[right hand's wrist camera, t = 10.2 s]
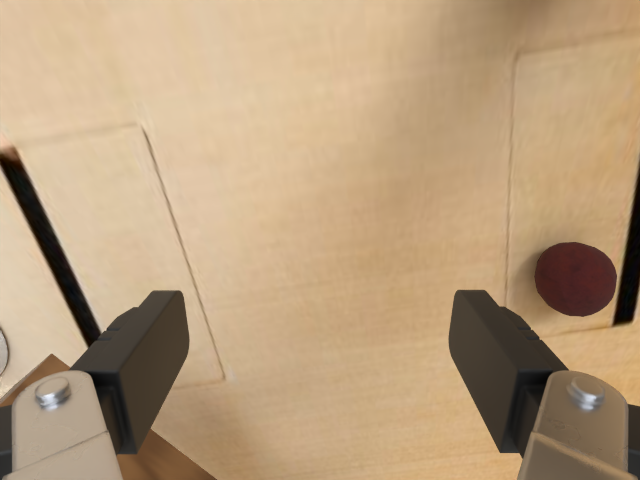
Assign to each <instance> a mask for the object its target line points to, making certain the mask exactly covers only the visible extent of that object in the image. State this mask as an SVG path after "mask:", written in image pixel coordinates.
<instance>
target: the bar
mask: <svg viewBox="0 0 640 480" xmlns="http://www.w3.org/2000/svg"><path fill="white" fill-rule="evenodd" d="M69 369H70V367H69V366H67V365H66V364H65V363H64V362H62V361H61V360H60V359H58V358H57V357H56V356H54V355H53V354H50V355H49V356H48V357H47V358H46V359H45V360H44V361H42V362H41V363H40V364H39V365H38V366H37V367H35V368H34V369H33V370H32V371H31V372H30V373H28V374H27V375H26V376H25V377H24V378H23V379H21V380H20V381H19V382H18V383H17V384H16V385H15V386H13V387H12V388H11V389H10V390H9V391H8V392H7V393H6V394H5V395H4V396H3V397H2V398H1V399H0V407H3V406H8V405H12V404H13V402H14V400H15V398H16V397H17V396H18V395H19V394H20V393H21V392H22V391H23V390H24V389H25V388H27V387H28V386H29V385H31V384H32V383H34V382H36V381H38V380H40V379H42V378H44V377H46V376H49V375H52V374H55V373H59V372H63V371H68V370H69ZM116 457H117V461H118V464H119V467H120V471H121V474H122V477H123V480H217V479H215V478H214V477H213V476H211V475H210V474H209V473H208V472H206V471H205V470H204V469H202V468H201V467H200V466H198V465H197V464H196V463H194V462H193V461H192V460H190V459H189V458H188V457H187V456H185V455H184V454H183V453H181V452H180V451H179V450H177V449H176V448H175V447H173V446H172V445H171V444H170V443H168V442H167V441H166V440H164V439H163V438H162V437H160V436H159V435H158V434H156V433H155V432H154V431H153V430H151V429H150V430H149V432H148V434H147V436H146V438H145V440H144V442H143V444H142V446H141V448H140V449H139V451H138V453H137V454H117V456H116Z"/></svg>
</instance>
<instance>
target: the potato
mask: <svg viewBox="0 0 640 480" xmlns="http://www.w3.org/2000/svg"><path fill="white" fill-rule="evenodd" d="M534 277H535V282H536V288H537V291H538V293H539V294H540V295H541V297H542V298H543V299H544V300H545V302H546V303H547V304H548V305H549V306H550V307H552V308H553V309H555V310H557V311H559V312H561V313H563V314H565V315H569V316H581V317H584V316H588V315H592V314H594V313H596V312H598V311H600V310H601V309H603V308H604V307H605V306H607V305H608V303H609V302H610V301H611V300H612V298H613V296H614V293H615V288H616V280H617V274H616V270H615V267H614V265H613V263H612V261H611V260H610V259H609V258H608V257H607V255H606V254H605V253H603V252H602V251H600V250H598V249H597V248H595V247H592V246H588V245H585V244H582V243H577V242H569V243H559V244H556V245H554V246H552V247H549V248H548V249H547V250H546V251H545V252H544V253H543V254H542V255H541V257H540V259H539V260H538V263H537V267H536V272H535V276H534Z"/></svg>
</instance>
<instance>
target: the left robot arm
mask: <svg viewBox="0 0 640 480" xmlns="http://www.w3.org/2000/svg"><path fill="white" fill-rule="evenodd" d="M7 358H8V350H7V345H6V341H5V338H4V336H3V334H2V332H1V330H0V374H1V373H2V372H3V370H4V368H5V366H6V363H7Z"/></svg>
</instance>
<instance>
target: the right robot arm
mask: <svg viewBox="0 0 640 480" xmlns="http://www.w3.org/2000/svg"><path fill="white" fill-rule="evenodd" d="M449 349H450V353H451V356H452V359H453V361H454V363H455V365H456V367H457V369H458V371H459V373H460V375H461V377H462V379H463V381H464V382H465V384H466V386H467V388H468V390H469V392H470V394H471V396H472V398H473V400H474V402H475V404H476V406H477V408H478V410H479V412H480V414H481V416H482V418H483V420H484V422H485V424H486V426H487V428H488V430H489V432H490V434H491V436H492V438H493V440H494V442H495V444H496V446H497V448H498V450H499V452H500V453H520V455H521V457H522V459H523V461H522V464H521V467H520V471H519V474H518V477H517V480H640V406H635V405H630V404H627V402H626V400H625V398H624V397H623V396H622V395H621V394H620V393H619V392H618V391H617V390H616V389H615V388H613V387H612V386H611V385H609V384H608V383H606V382H604V381H602V380H600V379H598V378H596V377H594V376H591V375H588V374H585V373H581V372H577V371H569V369H568V368H567V367H566V366H565V365H564V364H563V363H562V362H561V361H560V360H559V358H558V357H557V356H556V355H555V354H554V353H553V352H552V351H551V350H550V349H549V347H548V346H547V345H546V344H545V343H544V342H543V341H542V340H540V339H539V336H538V335H537V334H536V333H535V332H534V331H533V330H531V328H530V327H529V325H528V324H527V323H526V322H525V321H524V320H523V319H522V318H521V317H520V316H519V315H517V314H515V313H514V312H512V311H511V310H509V309H507V308H506V307H499V306H498V305H497V303H496V302H495V301H494V300H493V299H492V298H491V296H490V295H489V294H488V293H487V292H486V291H485V290H457V291H456V293H455V296H454V302H453V309H452V316H451V323H450V331H449ZM188 350H189V331H188V324H187V317H186V310H185V303H184V297H183V294H182V292H181V291H152V292H151V293H150V294H149V295H148V297H147V298H146V299H145V300H144V301H143V302H142V304H141V305H140V306H139V307H133V308H132V309H130V310H128V311H127V312H125V313H123V314H122V315H120V316H118V317H117V318H116V319H115V320H114V321H113V322H112V323H111V324H110V326H109V327H108V328H107V331H104V332H103V333H102V334H101V335H100V336H99V338H98V341H95V342H94V343H93V344H92V345H91V346H90V347H89V348H88V350H87V351H86V352H85V353H84V354H83V355H82V356H81V357H80V358H79V359H78V360H77V362H76V363H75V364H74V365H73V366H72V367H71V368H70V369H69V370H68V371H63V372H59V373H55V374H52V375H49V376H46V377H44V378H42V379H40V380H38V381H36V382H34V383H32V384H31V385H29V386H28V387H27V388H25V389H24V390H23V391H22V392H21V393H20V394H19V395H18V396H17V397H16V398H15V400H14V402H13V404H12V405H8V406H3V407H0V480H123V477H122V474H121V471H120V467H119V464H118V461H117V457H116V456H117V454H137V453H138V451H139V449H140V448H141V446H142V444H143V442H144V440H145V438H146V436H147V434H148V432H149V430H150V428H151V426H152V424H153V422H154V420H155V418H156V416H157V414H158V412H159V410H160V408H161V406H162V404H163V403H164V401H165V399H166V397H167V395H168V393H169V391H170V389H171V387H172V385H173V383H174V381H175V379H176V377H177V375H178V373H179V371H180V369H181V367H182V365H183V363H184V361H185V359H186V357H187V354H188Z"/></svg>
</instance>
